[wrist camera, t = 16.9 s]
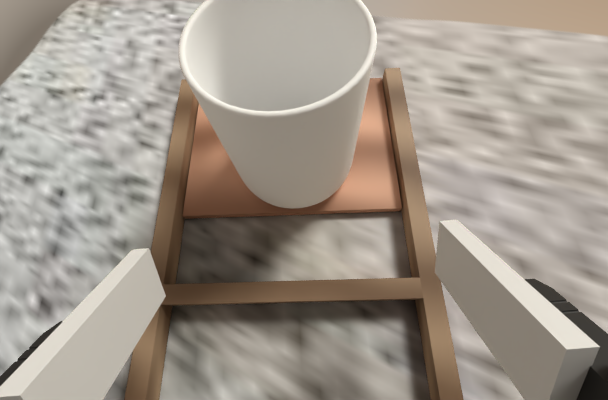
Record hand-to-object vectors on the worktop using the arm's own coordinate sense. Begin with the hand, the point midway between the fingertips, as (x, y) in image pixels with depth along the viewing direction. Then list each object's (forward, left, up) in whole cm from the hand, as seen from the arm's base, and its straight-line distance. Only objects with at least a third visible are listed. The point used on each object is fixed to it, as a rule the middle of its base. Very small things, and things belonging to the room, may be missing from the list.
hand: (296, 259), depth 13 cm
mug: (+7, -8, -6) cm, 12 cm away
